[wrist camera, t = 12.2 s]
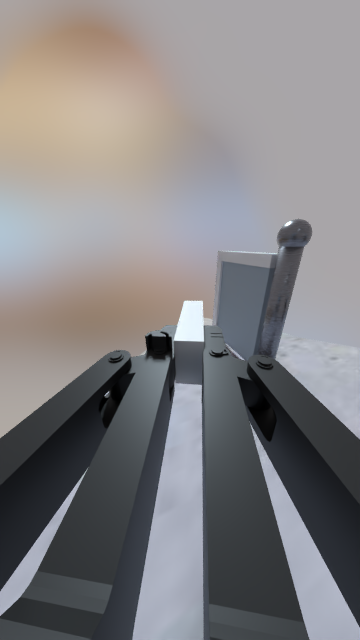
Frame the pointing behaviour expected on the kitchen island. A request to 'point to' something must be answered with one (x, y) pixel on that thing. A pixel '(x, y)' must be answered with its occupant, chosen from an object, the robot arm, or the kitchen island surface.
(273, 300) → the metal joystick
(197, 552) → the kitchen island surface
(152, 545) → the kitchen island surface
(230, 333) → the panel
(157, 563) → the kitchen island surface
